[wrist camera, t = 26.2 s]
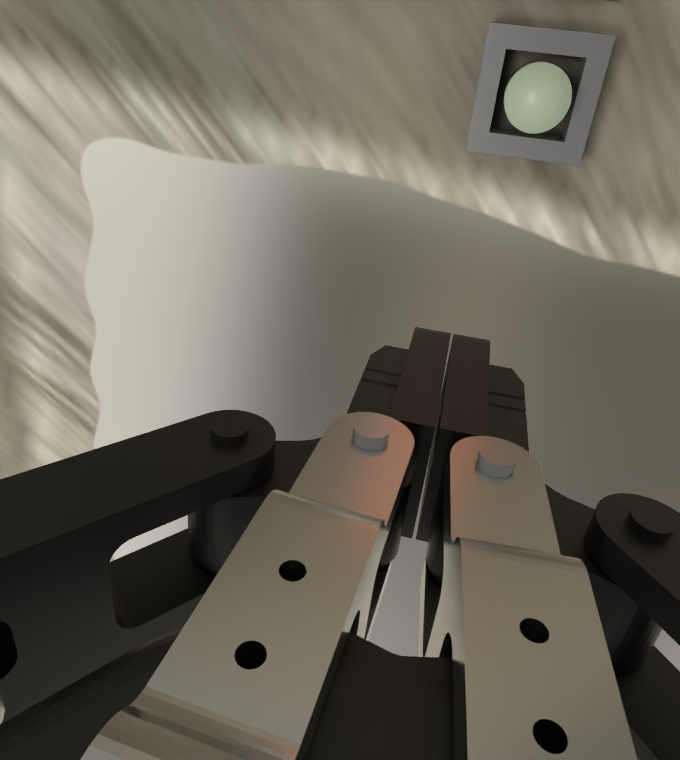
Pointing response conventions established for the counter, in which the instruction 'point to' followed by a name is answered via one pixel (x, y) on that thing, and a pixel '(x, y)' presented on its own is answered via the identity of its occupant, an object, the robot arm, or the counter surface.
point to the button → (537, 97)
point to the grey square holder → (583, 102)
